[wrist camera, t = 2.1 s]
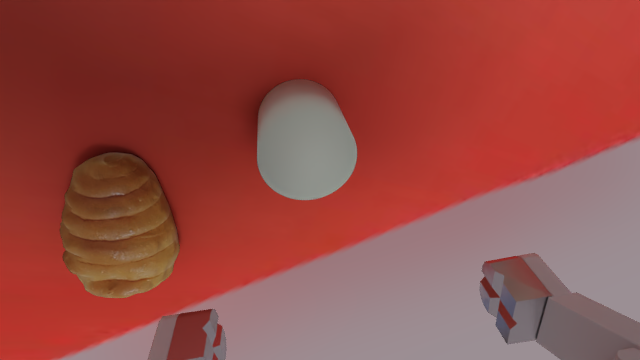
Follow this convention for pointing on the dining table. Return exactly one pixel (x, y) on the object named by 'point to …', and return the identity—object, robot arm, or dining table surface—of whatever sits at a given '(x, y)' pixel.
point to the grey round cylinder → (304, 141)
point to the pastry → (118, 227)
